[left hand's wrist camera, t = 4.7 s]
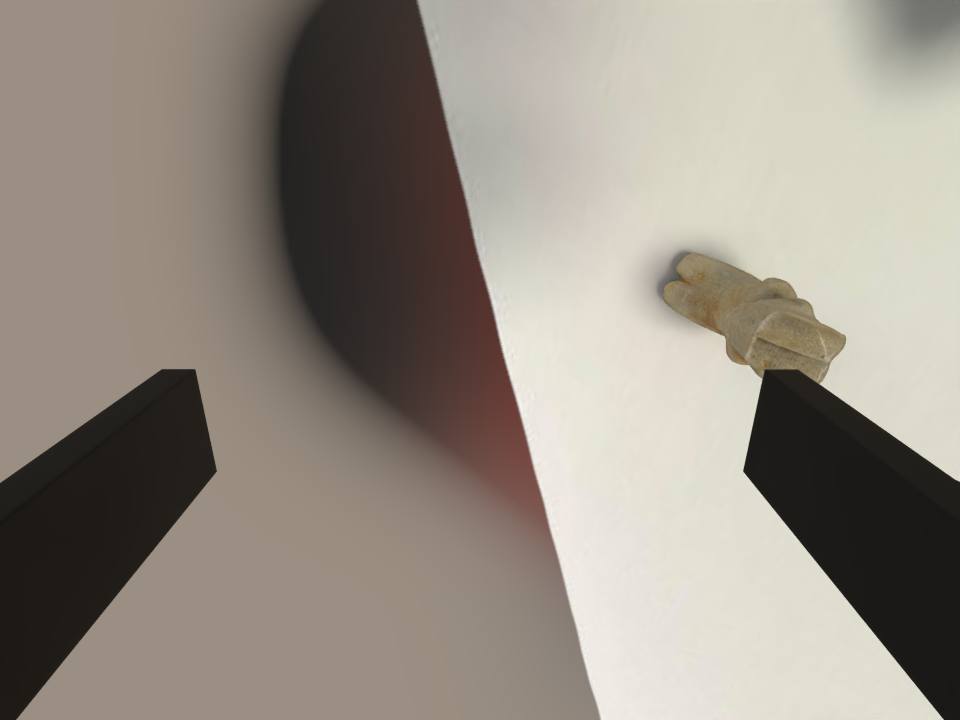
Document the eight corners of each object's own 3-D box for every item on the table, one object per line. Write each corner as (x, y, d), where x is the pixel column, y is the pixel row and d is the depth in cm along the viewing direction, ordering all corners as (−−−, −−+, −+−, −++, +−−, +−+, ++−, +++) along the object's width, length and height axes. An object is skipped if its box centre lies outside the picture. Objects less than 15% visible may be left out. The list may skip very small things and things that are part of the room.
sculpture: (687, 235, 41) (793, 281, 27) (765, 274, 42) (904, 337, 29) (647, 302, 43) (727, 376, 29) (723, 337, 44) (833, 425, 31)
